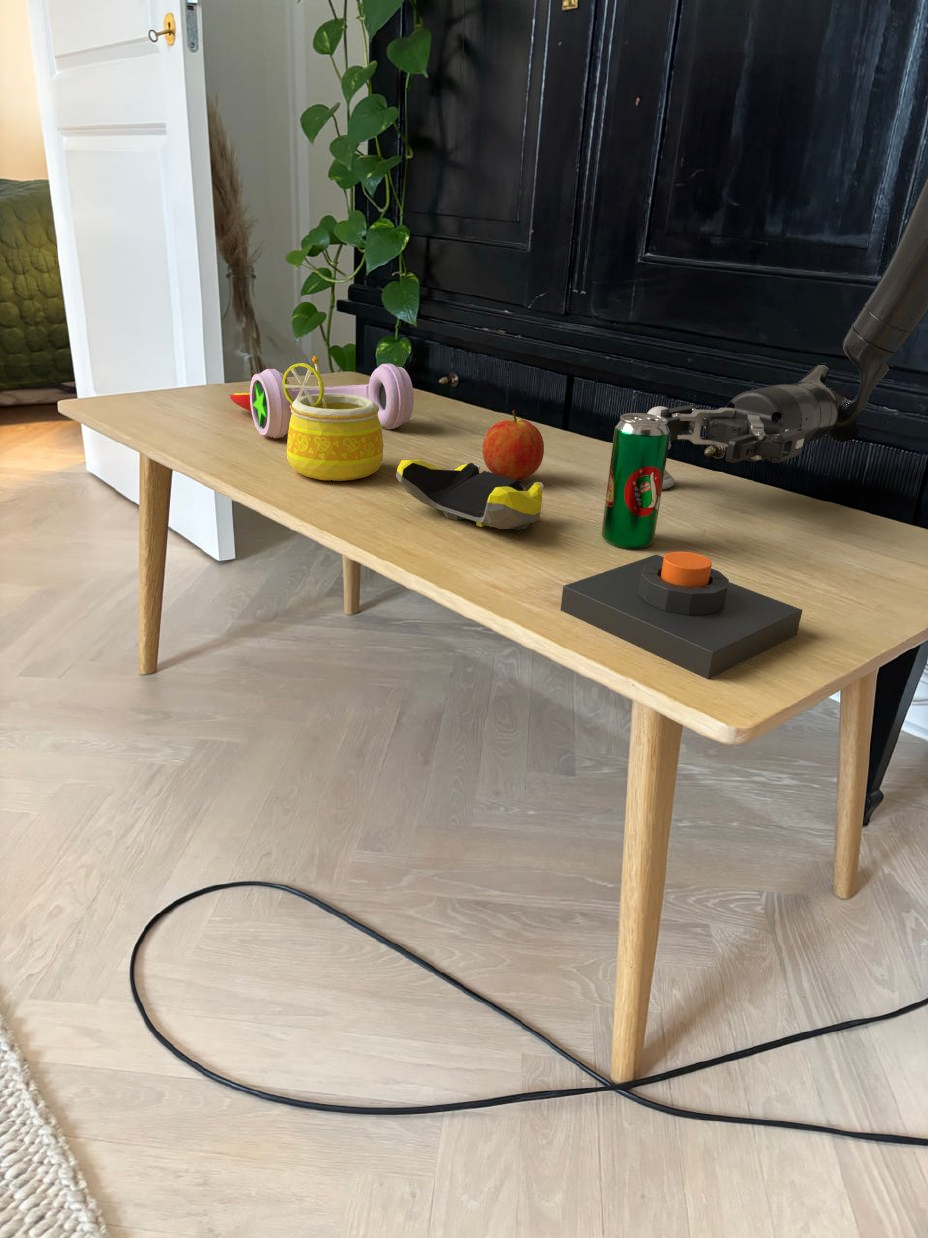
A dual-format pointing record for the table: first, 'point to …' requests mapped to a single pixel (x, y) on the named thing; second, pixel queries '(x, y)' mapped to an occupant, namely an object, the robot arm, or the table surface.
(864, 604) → the table surface
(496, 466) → the fruit
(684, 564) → the orange push button
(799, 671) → the table surface
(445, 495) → the shoe
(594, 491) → the table surface
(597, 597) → the push button base
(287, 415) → the headphones
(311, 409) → the yellow drink pot
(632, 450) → the soda can
